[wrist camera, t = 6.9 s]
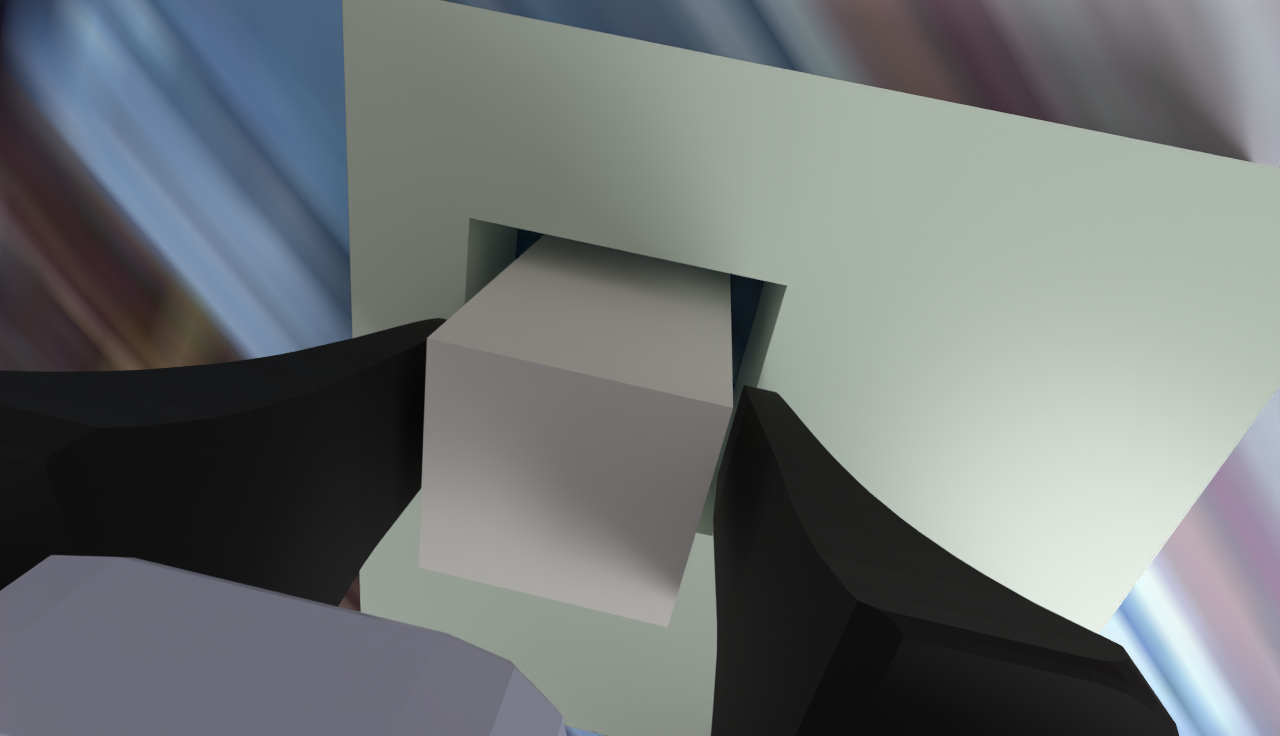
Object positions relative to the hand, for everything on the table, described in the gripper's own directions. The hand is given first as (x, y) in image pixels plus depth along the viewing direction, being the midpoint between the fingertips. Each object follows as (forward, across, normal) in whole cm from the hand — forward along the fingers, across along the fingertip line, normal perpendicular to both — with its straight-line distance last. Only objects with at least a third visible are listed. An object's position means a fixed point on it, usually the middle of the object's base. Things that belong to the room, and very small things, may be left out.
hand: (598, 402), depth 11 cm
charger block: (+3, 0, 0) cm, 4 cm away
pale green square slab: (+3, -3, +2) cm, 5 cm away
